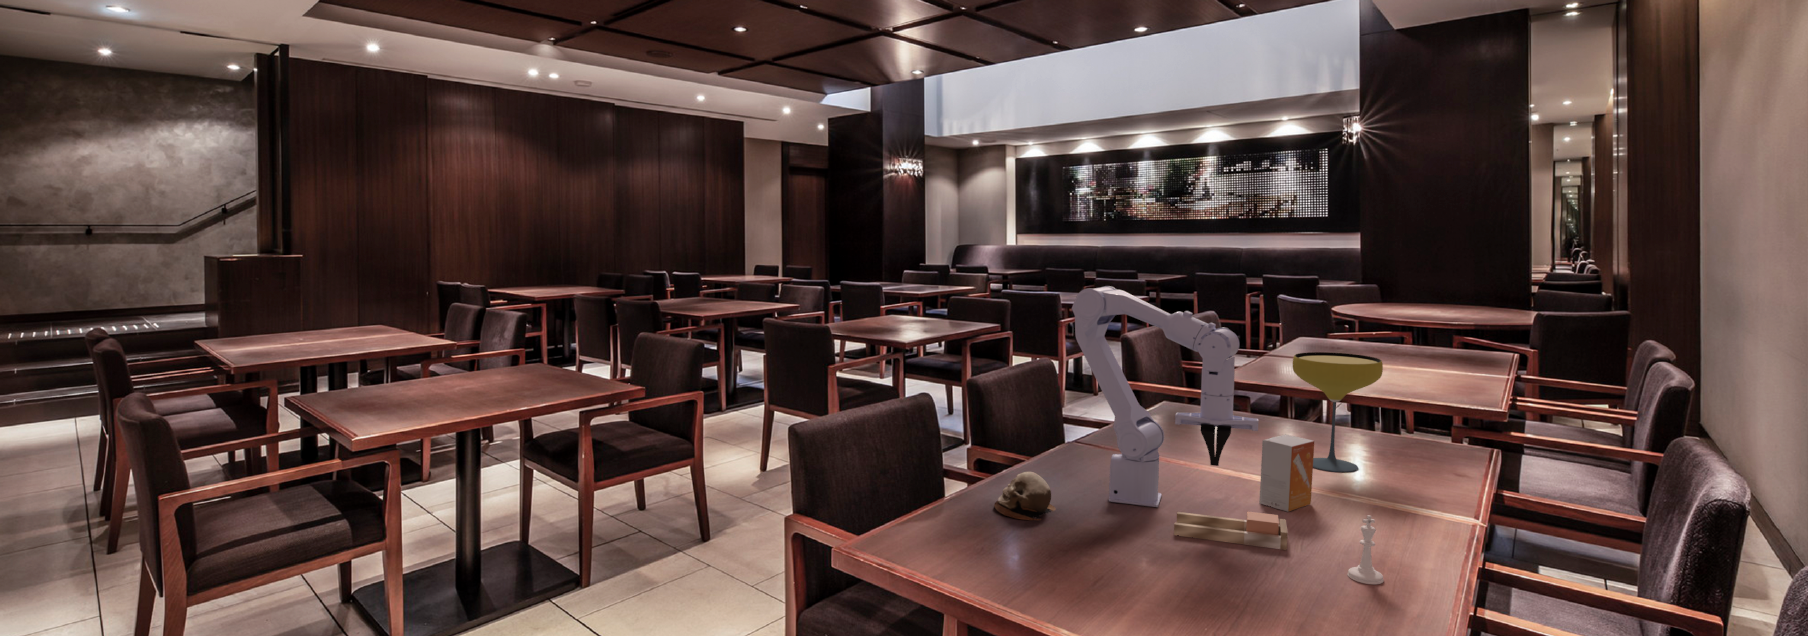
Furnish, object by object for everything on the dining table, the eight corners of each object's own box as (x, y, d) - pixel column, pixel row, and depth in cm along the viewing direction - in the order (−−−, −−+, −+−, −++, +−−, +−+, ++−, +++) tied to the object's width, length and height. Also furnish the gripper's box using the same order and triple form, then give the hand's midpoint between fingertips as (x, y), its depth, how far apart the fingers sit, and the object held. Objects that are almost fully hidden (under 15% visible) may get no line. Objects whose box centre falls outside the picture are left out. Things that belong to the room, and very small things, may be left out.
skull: (979, 507, 157) (997, 461, 162) (1001, 531, 164) (1018, 486, 168) (1033, 519, 149) (1051, 470, 154) (1054, 544, 156) (1071, 496, 161)
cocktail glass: (1277, 453, 198) (1282, 351, 195) (1357, 456, 195) (1363, 352, 192) (1303, 475, 180) (1308, 363, 177) (1391, 478, 177) (1398, 365, 175)
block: (1246, 541, 142) (1247, 519, 141) (1246, 533, 146) (1247, 511, 145) (1277, 545, 140) (1278, 523, 139) (1276, 537, 144) (1277, 515, 144)
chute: (1173, 535, 145) (1174, 518, 145) (1176, 522, 152) (1177, 506, 151) (1286, 550, 138) (1287, 533, 138) (1284, 535, 145) (1285, 519, 144)
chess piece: (1340, 571, 129) (1344, 510, 128) (1370, 570, 130) (1373, 509, 129) (1360, 585, 125) (1364, 521, 123) (1390, 584, 125) (1394, 520, 124)
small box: (1288, 512, 156) (1292, 446, 155) (1258, 503, 162) (1261, 439, 160) (1312, 504, 161) (1315, 440, 160) (1281, 496, 166) (1284, 433, 165)
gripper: (1174, 394, 152) (1172, 465, 153) (1259, 400, 146) (1256, 474, 148) (1177, 387, 158) (1175, 456, 160) (1259, 393, 153) (1256, 464, 154)
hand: (1214, 464), depth 154 cm, fingers closed
